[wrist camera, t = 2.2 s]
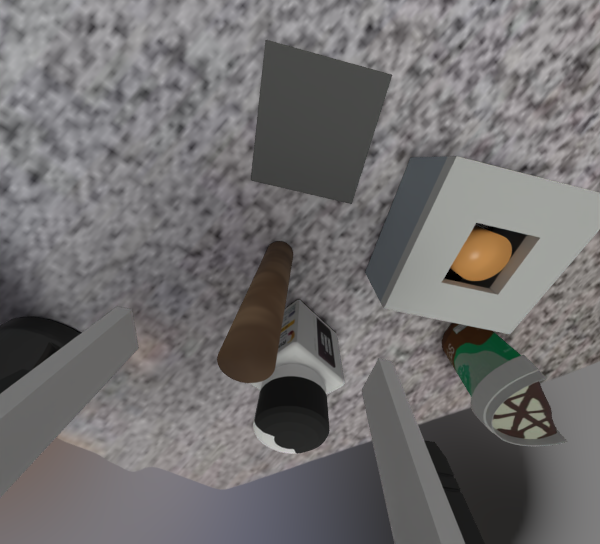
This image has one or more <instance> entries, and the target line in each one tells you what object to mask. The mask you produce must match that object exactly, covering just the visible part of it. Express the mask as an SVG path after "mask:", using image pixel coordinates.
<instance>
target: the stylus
mask: <svg viewBox="0 0 600 544" xmlns="http://www.w3.org/2000/svg"><path fill="white" fill-rule="evenodd" d="M292 260H293V250H292V248H291V247H290V246H289V245H288V244H287V243H285V242H281V241H277V242H274V243H272V244H270V245H269V247H268V249H267V251H266V253H265V255H264V257H263V259H262V261H261V264H260V266H259V268H258V270H257V272H256V274H255V276H254V279H253V281H252V283H251V285H250V287H249V289H248V291H247V294H246V296H245V298H244V300H243V302H242V304H241V306H240V309H239V311H238V313H237V315H236V317H235V319H234V321H233V324H232V326H231V328H230V330H229V332H228V334H227V336H226V339H225V341H224V343H223V345H222V347H221V349H220V351H219V354H218V357H217V362H218V365H219V367H220V369H221V370H222V372H223V373H224V374H226V375H227V376H228V377H230V378H232V379H234V380H236V381H239V382H244V383H257V382H261V381H264V380H266V379H268V378H269V377H270V376H271V375H272V374H273V372H274V370H275V366H276V360H277V353H278V347H279V341H280V335H281V328H282V322H283V316H284V310H285V303H286V297H287V291H288V285H289V279H290V272H291V266H292Z"/></svg>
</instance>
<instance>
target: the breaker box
mask: <svg viewBox="0 0 600 544" xmlns="http://www.w3.org/2000/svg"><path fill="white" fill-rule="evenodd" d="M476 223H480V224H485V225H489V226H493V227H494V229H493V230H492V232H494V233H496V234H499V235H502V236H504V237H505V238H507V239H508V240H509V242H510V243H511V246H512V254H511V257H510V260H509V261H508V263H507V265H506V266H505V267H504V268H503V269H502V270H501V271H500V272H499V273H497V274H496V275H494V276H492V277H490V278H488V279H485V280H481V281H469V280H466V279H464V278H462V280H461V281H460V282H457V281H452V280H448V279H444V277H445V276H446V274H447V272H448V271H449V269H450V267H451V265H452V264H453V262H454V260H455V259H456V257H457V255H458V253H459V252H460V250H461V248H462V247H463V245H464V243H465V242H466V240H467V238H468V236H469V235H470V233H471V231H472V230H473V228H474V226H475V224H476ZM599 229H600V193H598V192H594V191H590V190H586V189H582V188H578V187H575V186H571V185H567V184H563V183H559V182H555V181H551V180H547V179H543V178H540V177H536V176H532V175H528V174H524V173H520V172H516V171H512V170H508V169H505V168H501V167H497V166H493V165H489V164H485V163H481V162H477V161H473V160H469V159H466V158H462V157H458V156H448V157H415V158H410V160H409V163H408V165H407V168H406V170H405V173H404V175H403V178H402V181H401V183H400V186H399V188H398V191H397V193H396V196H395V198H394V201H393V203H392V206H391V208H390V211H389V213H388V216H387V218H386V221H385V224H384V226H383V229H382V231H381V234H380V236H379V239H378V241H377V244H376V246H375V249H374V251H373V254H372V256H371V259H370V261H369V264H368V267H367V269H366V272H365V273H366V275H367V277H368V279H369V281H370V283H371V285H372V287H373V289H374V290H375V292H376V294H377V296H378V298H379V300H380V302H381V304H382V306H383V308H384V309H388V310H393V311H398V312H403V313H408V314H413V315H418V316H423V317H427V318H432V319H437V320H442V321H447V322H452V323H457V324H462V325H467V326H472V327H477V328H482V329H487V330H492V331H496V332H501V333H506V334H511V332H512V331H513V330H514V329H515V328H516V327H517V325H518V324H519V323H520V322H521V321H522V320H523V318H524V317H525V316H526V315H527V314H528V313H529V311H530V310H531V309H532V308H533V307H534V306H535V304H536V303H537V302H538V301H539V300H540V299H541V297H542V296H543V295H544V294H545V293H546V291H547V290H548V289H549V288H550V287H551V286H552V284H553V283H554V282H555V281H556V280H557V279H558V277H559V276H560V275H561V274H562V273H563V272H564V270H565V269H566V268H567V267H568V266H569V265H570V263H571V262H572V261H573V260H574V259H575V258H576V256H577V255H578V254H579V253H580V252H581V251H582V249H583V248H584V247H585V246H586V245H587V243H588V242H589V241H590V240H591V239H592V238H593V236H594V235H595V234H596V233H597V232H598V231H599Z"/></svg>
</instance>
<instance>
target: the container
mask: <svg viewBox="0 0 600 544" xmlns="http://www.w3.org/2000/svg"><path fill="white" fill-rule="evenodd" d="M344 383H345V380H344V374H343V368H342V362H341V356H340V350H339V344H338V338H337V334H336V333H335V332H334V331H333V330H332V329H331V328H330V327H329V326H328V325H327V324H325V323H324V322H323V321H322V320H321V319H320V318H319V317H318V316H317V315H316V314H315V313H313V312H312V311H311V310H310V309H309V308H308V307H307V306H306V305H305V304H304V303H303V302H302V301H300V300H297V301H295V302H294V303H293V304H291V305H290V306H289V307H287V308H286V309H285V310H284V316H283V322H282V328H281V335H280V341H279V347H278V353H277V360H276V366H275V370H274V372H273V374H272V375H271V376H270V377H269V378H268V379H266V380H264V381H261V382H257V383H250V384H251V385H253V386H254V387H256V388H257V389H259V390H260V394H259V399H258V403H257V408H256V413H255V418H254V423H253V429H254V432H255V434H256V436H257V438H258V439H259V441H260V442H261V443H263V444H264V445H266V446H267V447H269V448H271V449H274V450H276V451H279V452H283V453H302V452H306V451H310V450H313V449H315V448H317V447H319V446H320V445H321V444H322V443H323V442H324V441H325V439H326V438H327V436H328V434H329V418H328V406H327V394H329V393H331V392H332V391H334V390H336V389H338V388H340V387H342V386H343V385H344Z"/></svg>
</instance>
